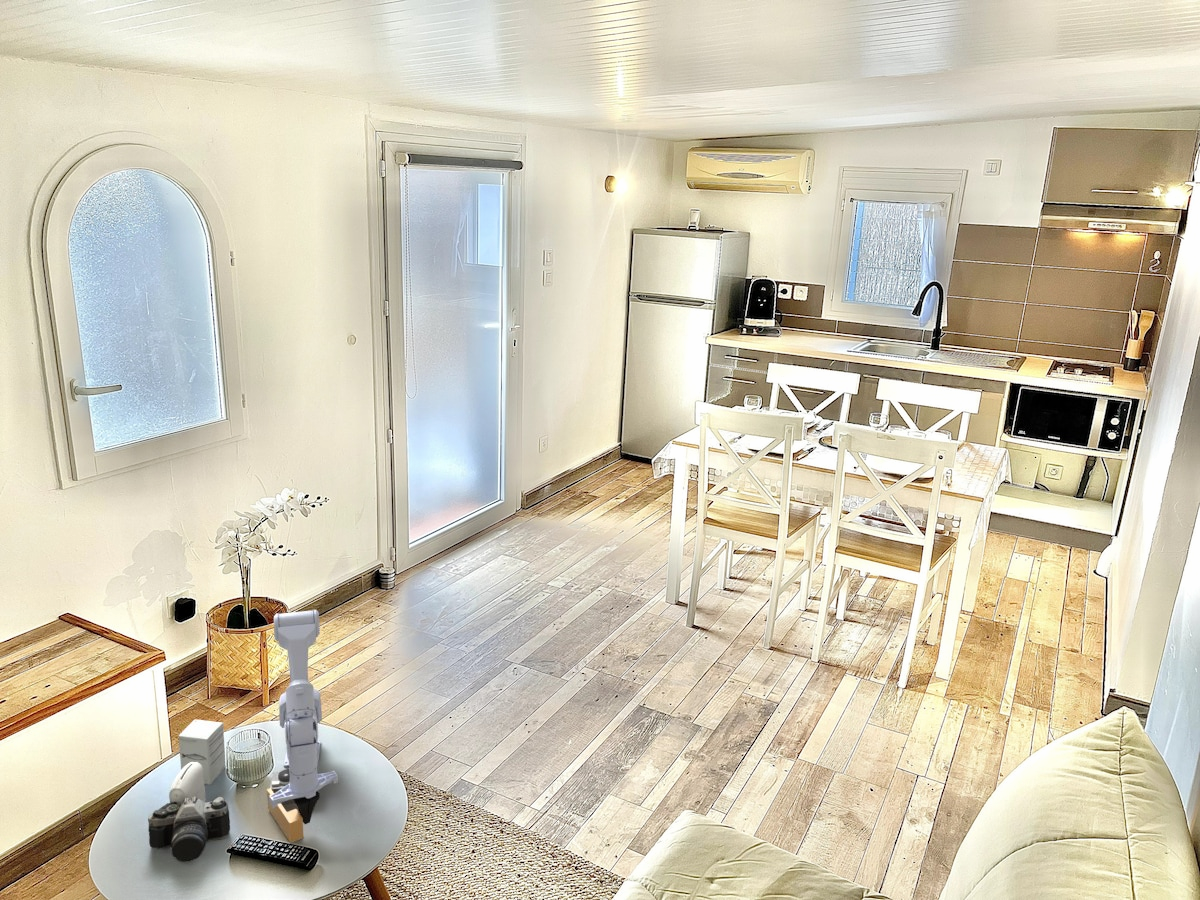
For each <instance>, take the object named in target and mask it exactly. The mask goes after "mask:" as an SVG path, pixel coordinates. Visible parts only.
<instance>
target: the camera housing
mask: <svg viewBox="0 0 1200 900" xmlns="http://www.w3.org/2000/svg"><path fill="white" fill-rule="evenodd" d="M317 774H319V770H318V768H317ZM289 783H290V775H289V768H285V769H282V770H280V771H275V772H273V771H272V775H271V781H270V785H269V788H271V790H272V791H273V793H276V792H278V791H279V790H281V789H282V788H284V787H285V786H287V785H288V784H289ZM281 804H282V806H286V805H296V804H295V802H294V801H293V799H290V800H287V801H285V802H282V803H281Z"/></svg>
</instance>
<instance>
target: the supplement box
mask: <svg viewBox="0 0 1200 900" xmlns="http://www.w3.org/2000/svg"><path fill="white" fill-rule="evenodd" d="M224 735H225V734H224V722H220V721H213V720H202V719H196V718H194V720H193V721H192V722H190V723H189V725H187V726H186V728H184V729H183V730H182V732H180V733H179V735H178V745H179V760H180V771H181V770H182V769H183V768H184V767H185V766H186V765H187V764H188V763H190V762H198V763H200V764H201V766H202V767H203V774H204V785H209V786H210V785H212V784H213V782H214V781H216V780H217V778H218V777H219V775H221V774H222V772H223V771H224V770H225V768H226V752H225V751H226V750H225V749H226V748H225V736H224Z"/></svg>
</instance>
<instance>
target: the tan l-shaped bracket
mask: <svg viewBox="0 0 1200 900" xmlns="http://www.w3.org/2000/svg"><path fill="white" fill-rule="evenodd" d="M272 794H274V793H273V791H272V790H271V788H270V787H269V788H267V789H266V797H267V800H266V801H267V809H268V811H269V812H270V814H271V815H272V817H273V818H274V820H275V821H276V823H277V825H278V826H279V827H280V828H281V830H282V832H283V833H284V835H285V837H286V838H287V840H288V841H289V842H290V844H291V843H294V842H296V841H299V840H301V839H304V823H303V818H302V817H301V815H300V813H299V810H298V808H294V809H292V810H289V811H287V810H286V809H285V807H284V805H282V804H281V803H280V804H278V806H277V807H275V808H272V806H271V805H270V803H269V796H270V795H272Z"/></svg>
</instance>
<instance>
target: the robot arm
mask: <svg viewBox="0 0 1200 900" xmlns="http://www.w3.org/2000/svg"><path fill="white" fill-rule="evenodd" d="M320 628H321V627H320V614H319V611H318V610H317V609H313V610H305V611H295V612H292V611H291V612H285V613H279V612H278V613H275V615H274V616H273V629H274V630H273V635H274V637H273V638H274V640H275V641H276V642H278V646H279V647H280V648H282V649H284V650H286V651H287V657H288V665H289V668H288V669H289V685H288V686H287V687H286V689H285V692H283V693H282V694H280V697H279V698H278V699H279V700H278V701H279V702H278V712H279V713H278V715H279V718H278V719H279V726H280V727H281V728H282V729H284V728H285V729H284V734H285V744H286V752H285V756H284V761H283V767H286V768H287V767H288V769H289V775H290V783H289V784H288V785H287V786H285V787H284V788H282V789H281V790H279V791H278V792H276V793H274V794H272V795H270V796H269V803H270V805H271V806H272V808H275V807H277V806H278V804H280V803H282V802H285V801H287V800H290V799H293V801H294V802H295V804H294V805H295V806H296V809H297V811H298V812H299V814H300V815H301V817H302V818H303V825H307V824H309V823H310V824H311V819H312V815H313V812H314V809H315V806H316V805H317V803H318V802H319V800H320V797H321V796H320V792H319V790H320V789H322V788H324V787H325V786H327V785H329V784H337V783H339V780H338V778H339V775H338V773H336V771H335V770H332V771H328V772H324V773H318V774H317V769H318V763H319V759H320V758H319V757H320V750H321V742H322V741H321V740H319V727H318V725H319V724H320V723H321V722H322V719H323V717H322V716H323V714H322V712H323V711H322V699H321V692H320V691H319V690H318V689H316V688H314V685H313V684H312V683H311V681H309V668H308V667H309V648H310V647H312V646H313V645H314V644H315V643H317V638H319V636H320V632H321V631H320Z"/></svg>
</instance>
